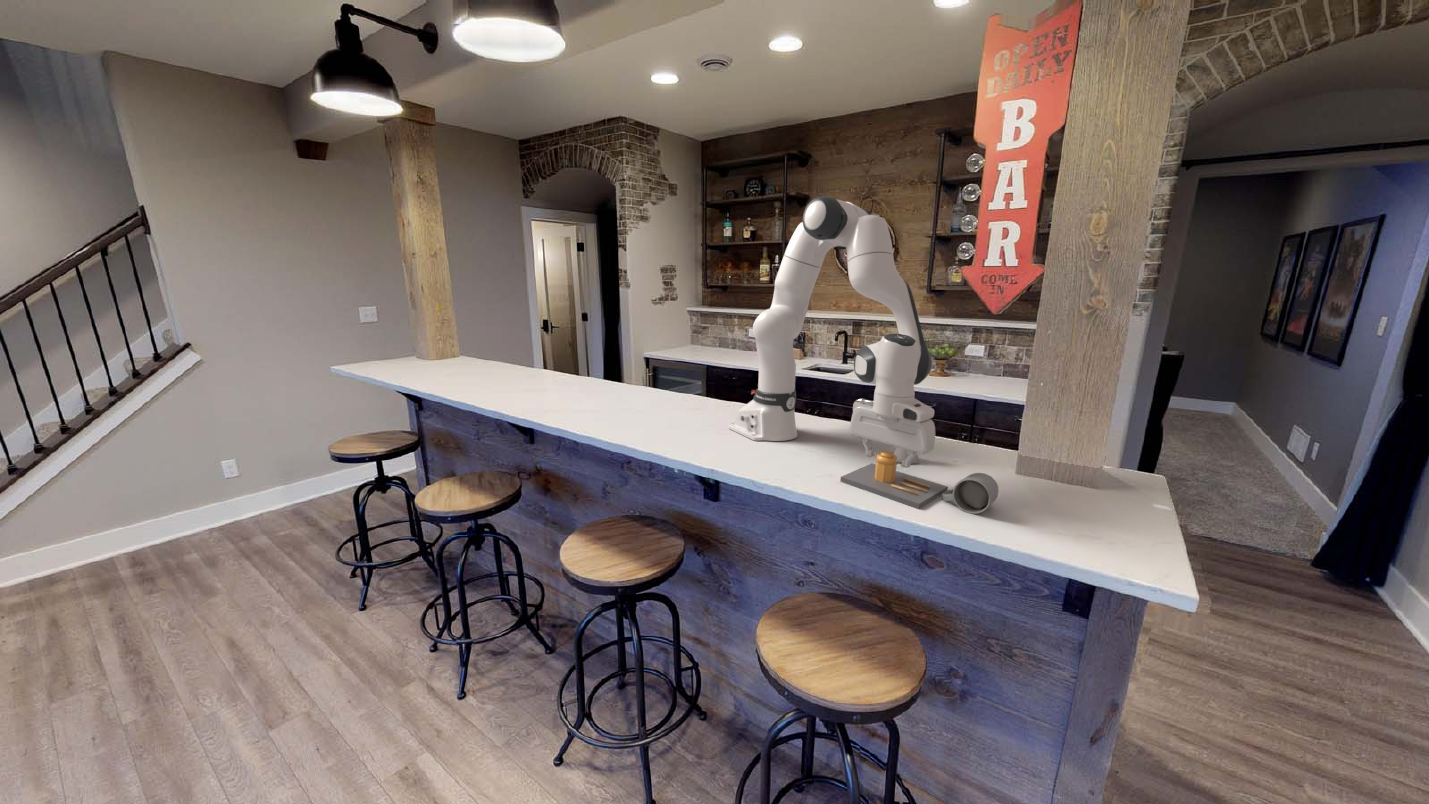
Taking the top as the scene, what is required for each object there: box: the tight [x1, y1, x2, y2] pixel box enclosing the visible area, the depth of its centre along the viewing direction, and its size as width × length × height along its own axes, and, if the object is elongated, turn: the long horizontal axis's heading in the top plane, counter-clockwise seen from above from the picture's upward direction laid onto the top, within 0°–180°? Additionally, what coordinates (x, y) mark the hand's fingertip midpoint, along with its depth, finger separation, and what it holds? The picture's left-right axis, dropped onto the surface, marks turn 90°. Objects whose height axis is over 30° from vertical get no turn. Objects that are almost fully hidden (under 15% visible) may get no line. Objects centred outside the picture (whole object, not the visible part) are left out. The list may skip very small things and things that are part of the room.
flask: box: [893, 447, 920, 465], centre depth 143 cm, size 7×7×10 cm
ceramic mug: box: [941, 472, 999, 515], centre depth 117 cm, size 11×8×8 cm
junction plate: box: [840, 462, 949, 510], centre depth 126 cm, size 20×14×5 cm
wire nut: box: [875, 450, 898, 483], centre depth 127 cm, size 5×5×7 cm
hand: (887, 461), depth 127 cm, fingers open, 8 cm apart
